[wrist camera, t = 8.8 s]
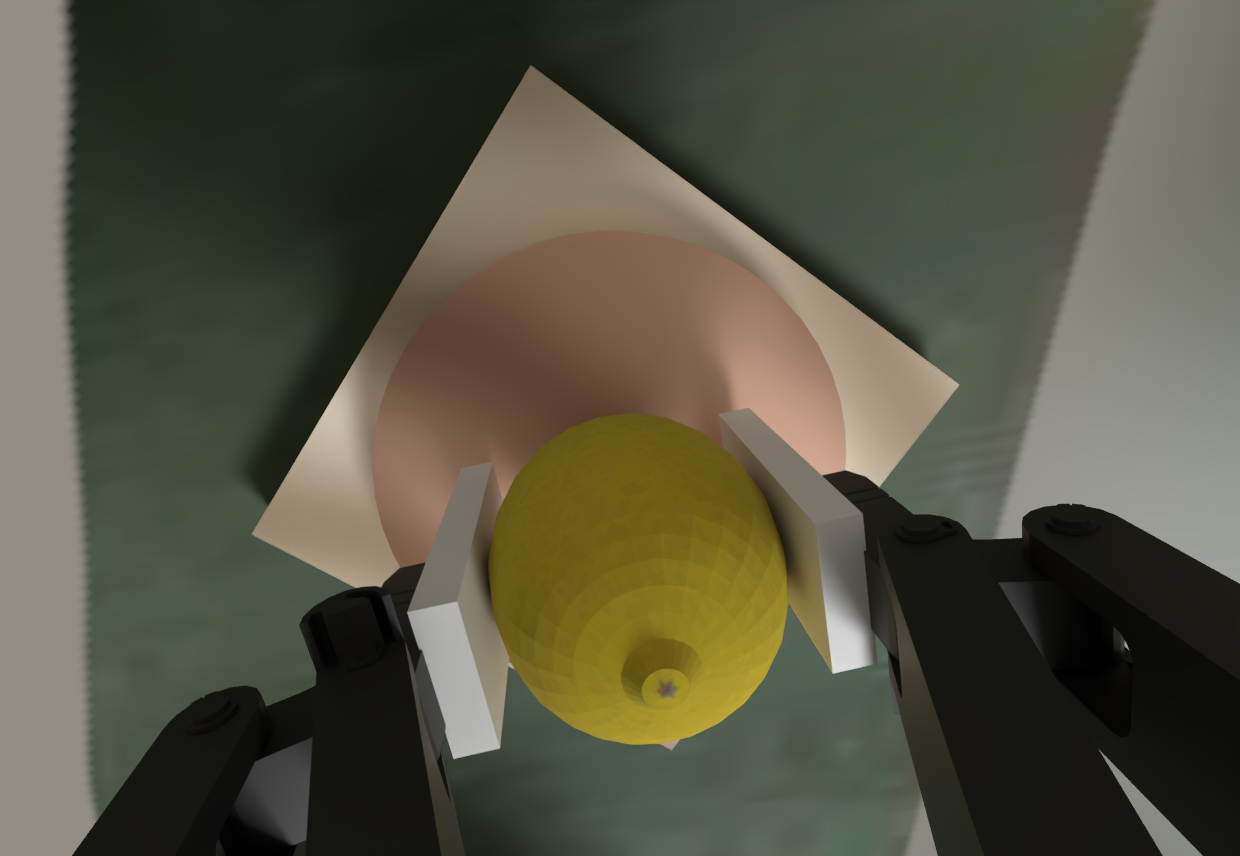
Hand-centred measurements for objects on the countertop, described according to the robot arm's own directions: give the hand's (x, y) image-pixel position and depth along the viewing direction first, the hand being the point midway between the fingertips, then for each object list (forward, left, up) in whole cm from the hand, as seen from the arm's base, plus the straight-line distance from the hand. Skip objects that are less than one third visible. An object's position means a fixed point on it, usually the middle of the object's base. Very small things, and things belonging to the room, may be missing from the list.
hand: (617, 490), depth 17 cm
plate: (0, 0, -4) cm, 4 cm away
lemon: (0, 0, -1) cm, 1 cm away
